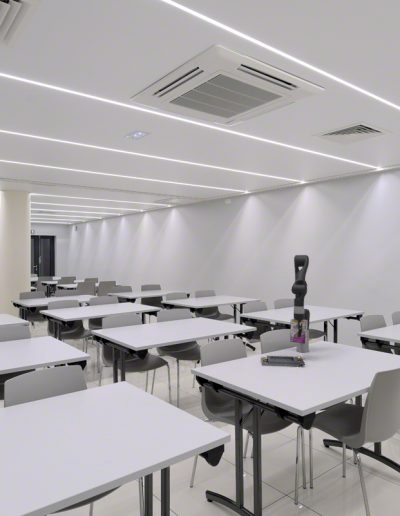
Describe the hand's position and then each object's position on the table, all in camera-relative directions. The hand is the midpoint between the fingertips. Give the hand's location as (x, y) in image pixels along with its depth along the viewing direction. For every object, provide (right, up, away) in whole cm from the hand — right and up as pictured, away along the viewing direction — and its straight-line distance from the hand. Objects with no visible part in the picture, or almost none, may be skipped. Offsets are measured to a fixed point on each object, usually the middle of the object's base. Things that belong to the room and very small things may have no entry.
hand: (298, 335), depth 282 cm
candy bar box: (0, -5, 0) cm, 5 cm away
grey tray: (-15, -17, -12) cm, 25 cm away
